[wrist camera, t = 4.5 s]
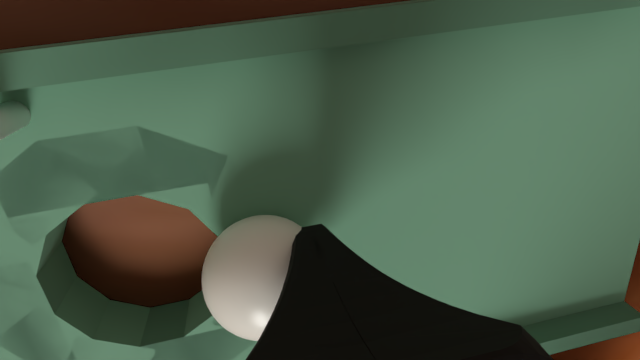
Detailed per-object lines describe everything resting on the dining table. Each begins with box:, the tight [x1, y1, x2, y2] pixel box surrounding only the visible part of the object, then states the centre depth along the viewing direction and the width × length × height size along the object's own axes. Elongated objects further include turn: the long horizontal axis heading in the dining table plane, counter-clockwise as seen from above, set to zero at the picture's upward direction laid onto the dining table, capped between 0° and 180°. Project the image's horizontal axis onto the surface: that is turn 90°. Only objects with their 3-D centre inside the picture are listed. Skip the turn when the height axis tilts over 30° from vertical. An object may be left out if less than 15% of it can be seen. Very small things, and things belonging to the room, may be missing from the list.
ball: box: [201, 215, 301, 341], centre depth 12 cm, size 4×4×4 cm
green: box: [0, 0, 640, 360], centre depth 14 cm, size 14×24×3 cm, turn 96°
